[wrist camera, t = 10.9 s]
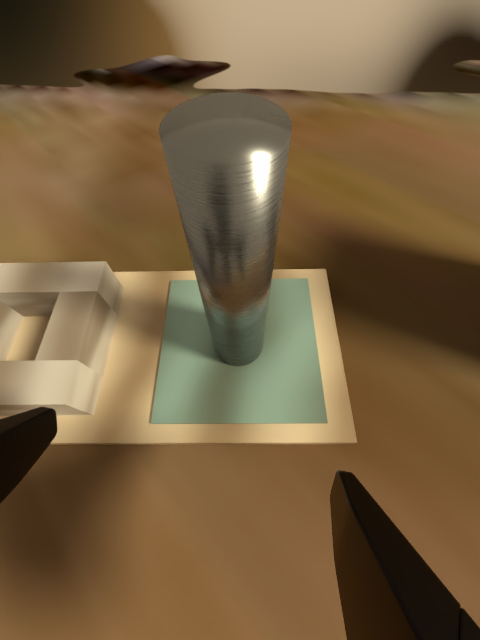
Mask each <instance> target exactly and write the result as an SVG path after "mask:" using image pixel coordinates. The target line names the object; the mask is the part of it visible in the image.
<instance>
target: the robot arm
mask: <svg viewBox="0 0 480 640" xmlns="http://www.w3.org/2000/svg"><path fill="white" fill-rule="evenodd" d="M56 434H57V416H56V411H55V409H53V408H48V407H38V408H35V409H32V410H28V411H25V412H22V413H19V414H16V415H12V416H9V417H6V418H3V419H0V503H1V502H2V501H3V500H4V499H5V498H6V497H7V496H8V495H9V494H10V492H11V491H12V490H13V489H14V488H15V487H16V486H17V485H18V484H19V482H20V481H21V480H22V479H23V478H24V476H25V475H26V474H27V473H28V471H29V470H30V469H31V467H32V466H33V465H34V464H35V462H36V461H37V460H38V458H39V457H40V456H41V455H42V453H43V452H44V451H45V450H46V448H47V447H48V446H49V444H50V443H51V442H52V441H53V439H54V438H55V436H56ZM330 504H331V519H332V535H333V550H334V561H335V569H336V575H337V581H338V587H339V593H340V600H341V606H342V612H343V618H344V624H345V630H346V636H347V640H480V628H479V627H478V626H477V624H476V623H475V622H474V621H473V620H472V618H471V617H470V616H469V615H468V613H467V612H466V611H465V610H464V609H463V608H461V609H460V604H459V603H458V601H457V600H456V599H455V598H454V597H453V595H452V594H451V593H450V592H449V590H448V589H447V588H446V587H445V585H444V584H443V583H442V582H441V581H440V579H439V578H438V577H437V576H436V574H435V573H434V572H433V571H432V570H431V568H430V567H429V566H428V565H427V563H426V562H425V561H424V560H423V559H422V557H421V556H420V555H419V554H418V552H417V551H416V550H415V549H414V548H413V546H412V545H411V544H410V543H409V541H408V540H407V539H406V538H405V537H404V535H403V534H402V533H401V532H400V530H399V529H398V528H397V527H396V526H395V524H394V523H393V522H392V521H391V519H390V518H389V517H388V516H387V515H386V513H385V512H384V511H383V510H382V508H381V507H380V506H379V505H378V504H377V502H376V501H375V500H374V499H373V497H372V496H371V495H370V494H369V493H368V491H367V490H366V489H365V488H364V486H363V485H362V484H361V483H360V482H359V480H358V479H357V478H356V477H355V475H354V474H352V473H351V472H346V471H342V470H338V471H337V472H336V475H335V479H334V482H333V486H332V489H331V494H330Z"/></svg>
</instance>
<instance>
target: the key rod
mask: <svg viewBox="0 0 480 640" xmlns="http://www.w3.org/2000/svg"><path fill="white" fill-rule="evenodd" d="M291 129H292V124H291V120H290V118H289V116H288V114H287V113H286V112H285V111H284V109H283V108H281V107H280V106H279V105H277V104H276V103H274V102H272V101H270V100H268V99H265V98H262V97H259V96H256V95H251V94H245V93H233V92H227V93H214V94H207V95H203V96H199V97H196V98H192V99H190V100H187V101H185V102H183V103H181V104H179V105H178V106H176V107H174V108H173V109H172V110H171V111H169V112H168V113H167V114H166V116H165V117H164V118H163V120H162V122H161V124H160V128H159V134H160V139H161V143H162V146H163V150H164V154H165V158H166V162H167V166H168V170H169V174H170V178H171V182H172V186H173V189H174V193H175V197H176V201H177V205H178V209H179V213H180V217H181V221H182V225H183V228H184V232H185V236H186V240H187V244H188V248H189V252H190V256H191V260H192V264H193V268H194V271H195V275H196V279H197V283H198V287H199V291H200V295H201V299H202V303H203V307H204V311H205V314H206V318H207V322H208V326H209V330H210V334H211V338H212V342H213V346H214V350H215V352H216V354H217V356H218V357H219V358H220V359H221V360H222V361H223V362H224V363H226V364H228V365H231V366H245V365H248V364H250V363H252V362H253V361H255V360H256V359H257V358H258V357H259V355H260V354H261V351H262V348H263V342H264V334H265V327H266V319H267V312H268V304H269V297H270V289H271V281H272V274H273V266H274V259H275V251H276V244H277V236H278V228H279V221H280V213H281V206H282V198H283V191H284V183H285V175H286V168H287V160H288V153H289V145H290V138H291Z"/></svg>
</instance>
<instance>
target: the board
mask: <svg viewBox="0 0 480 640" xmlns="http://www.w3.org/2000/svg"><path fill="white" fill-rule="evenodd" d="M38 407H48V408H53V409H55V411H56V416H57V434H56V436H55V438H54V439H53V441H52V442H51V443H50V444H49V445H110V444H354V443H357V439H356V434H355V428H354V422H353V417H352V411H351V406H350V400H349V395H348V389H347V384H346V378H345V373H344V367H343V362H342V356H341V350H340V345H339V339H338V334H337V328H336V323H335V317H334V312H333V306H332V301H331V295H330V290H329V284H328V278H327V273H326V269H282V270H273V274H272V281H271V289H270V297H269V304H268V312H267V319H266V327H265V334H264V342H263V348H262V351H261V354H260V355H259V357H258V358H257V359H256V360H255V361H253V362H252V363H250V364H248V365H245V366H231V365H228V364H226V363H224V362H223V361H222V360H221V359H220V358H219V357H218V356H217V354H216V352H215V350H214V346H213V342H212V338H211V334H210V330H209V326H208V322H207V318H206V314H205V311H204V307H203V303H202V299H201V295H200V291H199V287H198V283H197V279H196V275H195V271H156V272H113V271H112V270H111V268H110V267H109V265H108V264H107V262H47V263H0V419H3V418H6V417H9V416H12V415H16V414H19V413H22V412H25V411H28V410H32V409H35V408H38Z"/></svg>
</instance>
